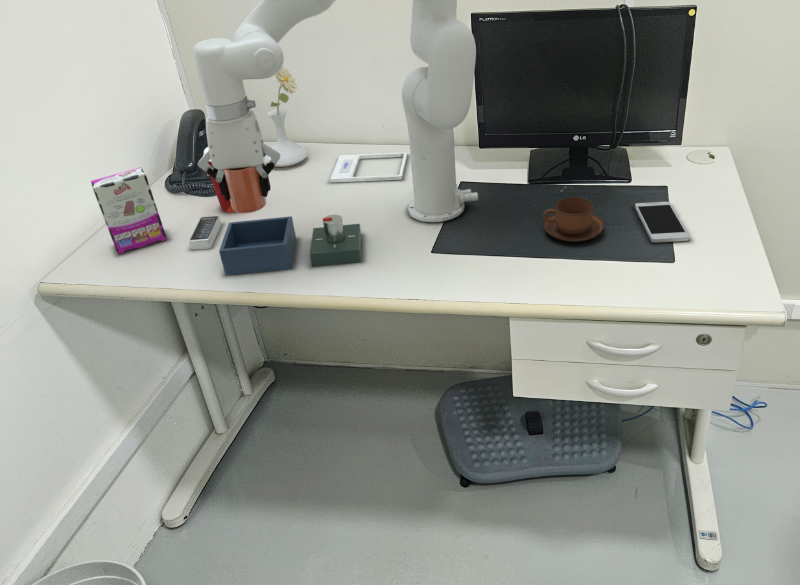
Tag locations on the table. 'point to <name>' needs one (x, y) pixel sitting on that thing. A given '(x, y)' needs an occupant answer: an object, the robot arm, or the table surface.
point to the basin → (258, 246)
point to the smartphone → (661, 222)
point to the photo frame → (349, 164)
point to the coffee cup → (224, 204)
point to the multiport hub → (205, 233)
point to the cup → (244, 189)
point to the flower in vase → (283, 145)
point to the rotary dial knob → (333, 228)
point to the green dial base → (336, 247)
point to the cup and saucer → (573, 220)
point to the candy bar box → (129, 210)
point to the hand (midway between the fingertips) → (247, 195)
